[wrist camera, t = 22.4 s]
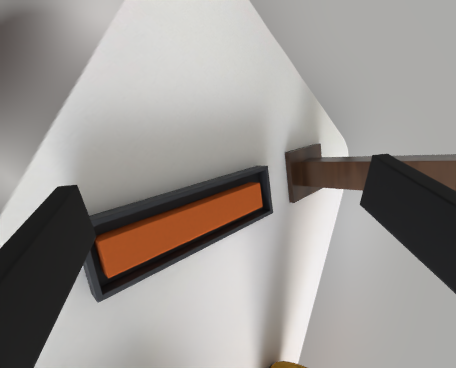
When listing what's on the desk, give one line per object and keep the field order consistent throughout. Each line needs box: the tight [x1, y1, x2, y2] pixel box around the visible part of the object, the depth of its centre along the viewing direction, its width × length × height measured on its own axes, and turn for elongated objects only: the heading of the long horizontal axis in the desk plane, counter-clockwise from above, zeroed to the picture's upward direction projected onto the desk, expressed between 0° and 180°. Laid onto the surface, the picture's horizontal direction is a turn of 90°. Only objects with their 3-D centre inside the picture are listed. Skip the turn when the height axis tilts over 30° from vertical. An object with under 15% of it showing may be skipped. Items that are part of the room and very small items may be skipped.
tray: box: [83, 166, 273, 303], centre depth 34 cm, size 28×8×2 cm, turn 101°
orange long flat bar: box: [94, 182, 263, 278], centre depth 33 cm, size 24×4×2 cm, turn 101°
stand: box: [285, 144, 456, 203], centre depth 42 cm, size 14×10×30 cm
